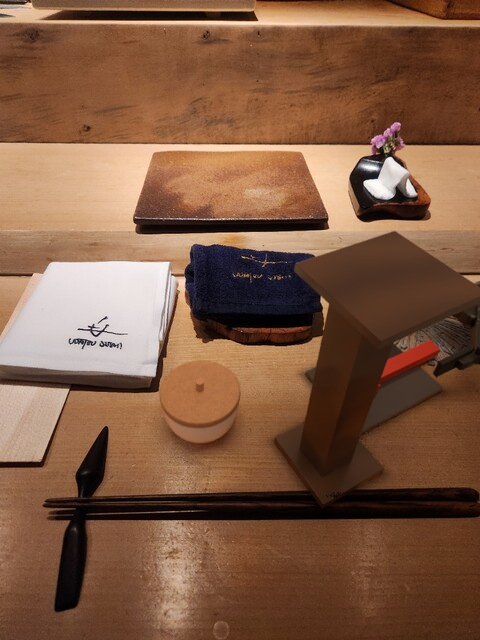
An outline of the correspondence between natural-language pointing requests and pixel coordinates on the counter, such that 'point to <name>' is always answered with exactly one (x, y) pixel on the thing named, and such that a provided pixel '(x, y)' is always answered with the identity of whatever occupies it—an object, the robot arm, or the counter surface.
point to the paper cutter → (397, 393)
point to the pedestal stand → (363, 349)
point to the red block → (408, 360)
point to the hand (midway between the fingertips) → (403, 340)
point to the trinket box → (200, 400)
